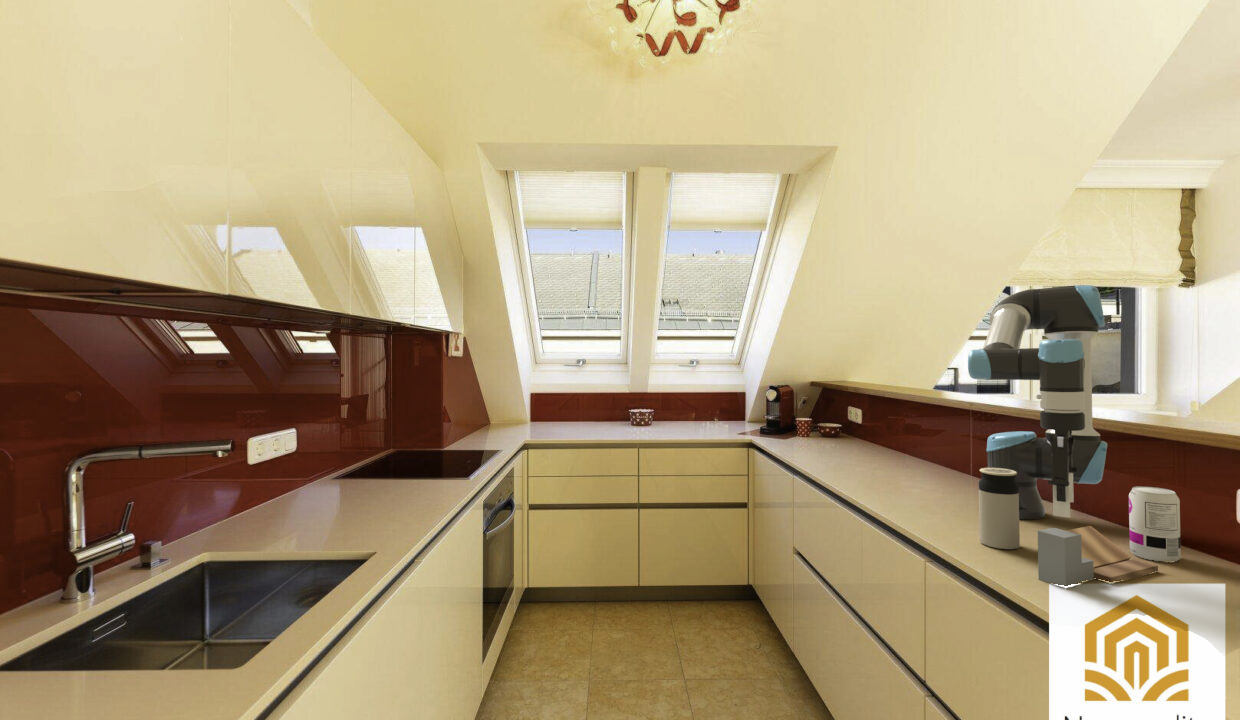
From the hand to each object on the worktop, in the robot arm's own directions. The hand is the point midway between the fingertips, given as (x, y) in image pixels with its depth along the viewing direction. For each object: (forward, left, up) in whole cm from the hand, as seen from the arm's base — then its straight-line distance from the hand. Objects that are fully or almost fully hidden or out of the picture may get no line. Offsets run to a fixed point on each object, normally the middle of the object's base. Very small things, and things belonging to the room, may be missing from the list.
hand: (1063, 508), depth 118 cm
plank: (-6, 0, -10) cm, 11 cm away
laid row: (-6, +7, -13) cm, 16 cm away
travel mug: (-1, -15, -13) cm, 20 cm away
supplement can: (-24, +4, -13) cm, 27 cm away
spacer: (+7, +5, -13) cm, 15 cm away
